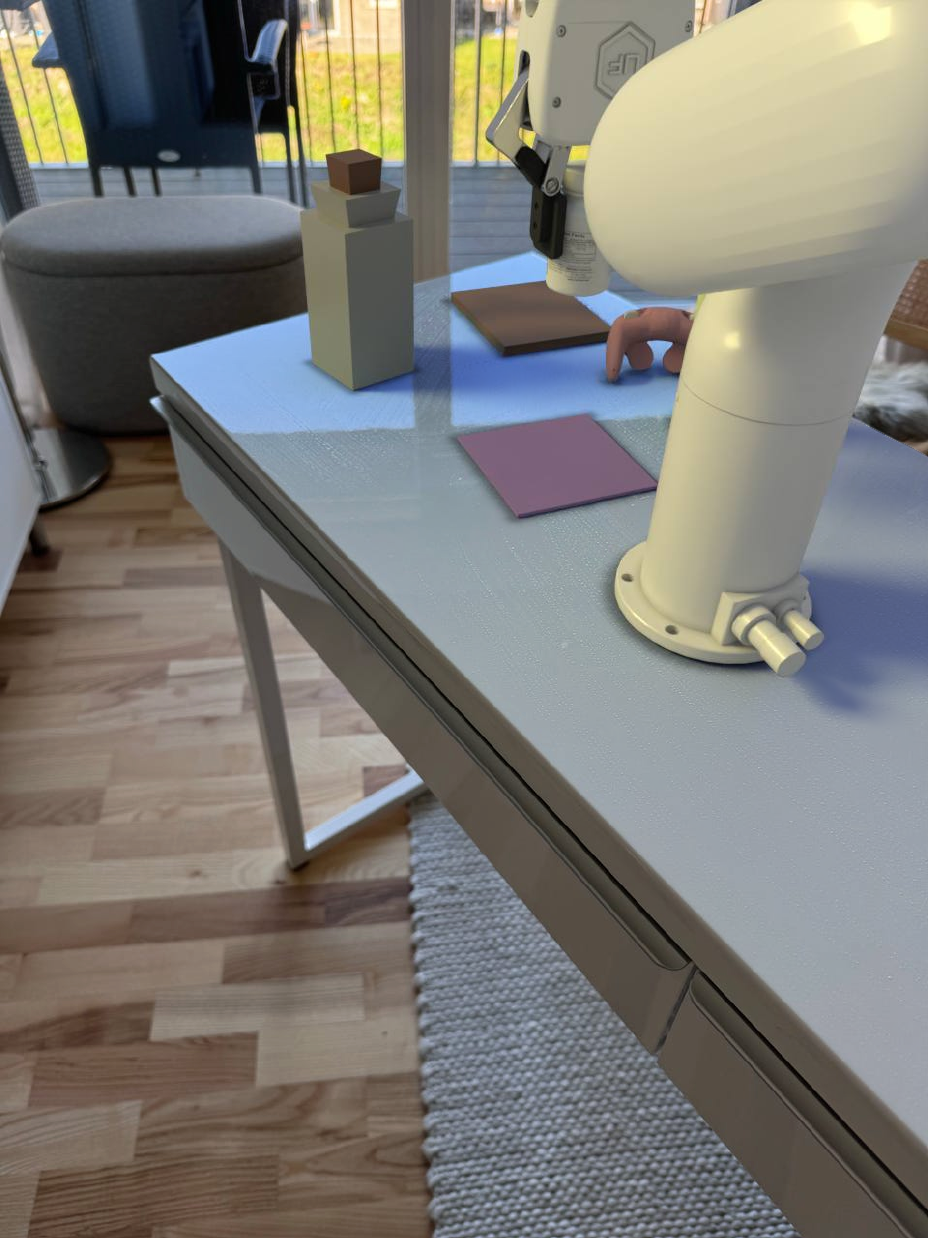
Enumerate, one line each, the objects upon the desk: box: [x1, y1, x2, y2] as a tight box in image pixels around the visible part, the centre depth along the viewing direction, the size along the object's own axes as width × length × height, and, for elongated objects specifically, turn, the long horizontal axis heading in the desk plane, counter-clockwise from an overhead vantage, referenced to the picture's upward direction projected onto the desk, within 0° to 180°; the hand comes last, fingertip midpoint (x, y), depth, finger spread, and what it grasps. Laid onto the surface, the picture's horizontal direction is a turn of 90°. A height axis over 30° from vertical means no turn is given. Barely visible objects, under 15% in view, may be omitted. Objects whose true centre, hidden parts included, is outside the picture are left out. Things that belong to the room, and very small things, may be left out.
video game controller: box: [605, 306, 695, 383], centre depth 84 cm, size 10×5×7 cm, turn 84°
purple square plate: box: [456, 413, 658, 519], centre depth 73 cm, size 12×12×1 cm
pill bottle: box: [545, 159, 612, 298], centre depth 61 cm, size 4×4×8 cm
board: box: [450, 279, 612, 357], centre depth 94 cm, size 14×12×1 cm
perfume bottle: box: [299, 148, 415, 392], centre depth 79 cm, size 7×7×18 cm
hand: (581, 245), depth 62 cm, fingers closed on pill bottle, 4 cm apart
